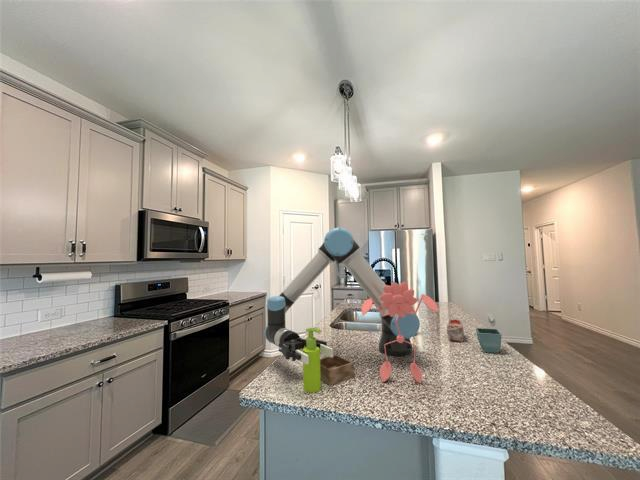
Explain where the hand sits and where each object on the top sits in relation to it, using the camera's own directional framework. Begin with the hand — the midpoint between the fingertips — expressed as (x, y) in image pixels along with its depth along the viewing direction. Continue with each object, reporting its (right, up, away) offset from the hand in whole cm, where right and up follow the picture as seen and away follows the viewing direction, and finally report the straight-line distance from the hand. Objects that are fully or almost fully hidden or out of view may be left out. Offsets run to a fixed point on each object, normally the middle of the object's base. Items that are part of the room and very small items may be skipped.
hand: (320, 356), depth 89 cm
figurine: (+28, -12, +4) cm, 30 cm away
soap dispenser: (-2, -12, +3) cm, 13 cm away
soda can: (+50, -14, +63) cm, 82 cm away
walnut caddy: (+5, -13, +13) cm, 19 cm away
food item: (+70, -13, +53) cm, 89 cm away
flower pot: (+76, -12, +34) cm, 84 cm away
